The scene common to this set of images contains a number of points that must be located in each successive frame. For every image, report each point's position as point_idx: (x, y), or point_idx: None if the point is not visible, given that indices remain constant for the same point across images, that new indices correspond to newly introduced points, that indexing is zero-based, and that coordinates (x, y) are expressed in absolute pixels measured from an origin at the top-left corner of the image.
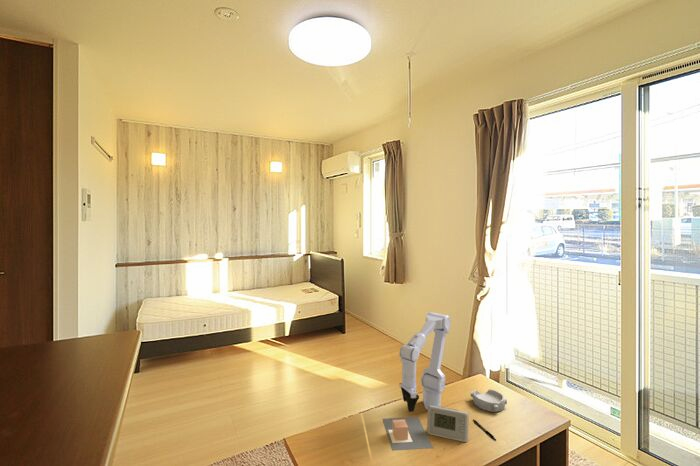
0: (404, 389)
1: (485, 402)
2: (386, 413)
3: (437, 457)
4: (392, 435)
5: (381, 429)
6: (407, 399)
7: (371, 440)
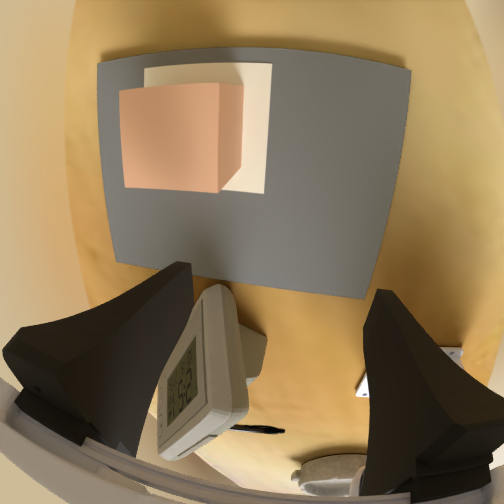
0: (404, 413)
1: (314, 478)
2: (469, 135)
3: (88, 252)
4: (208, 78)
5: (309, 31)
6: (30, 335)
7: None
